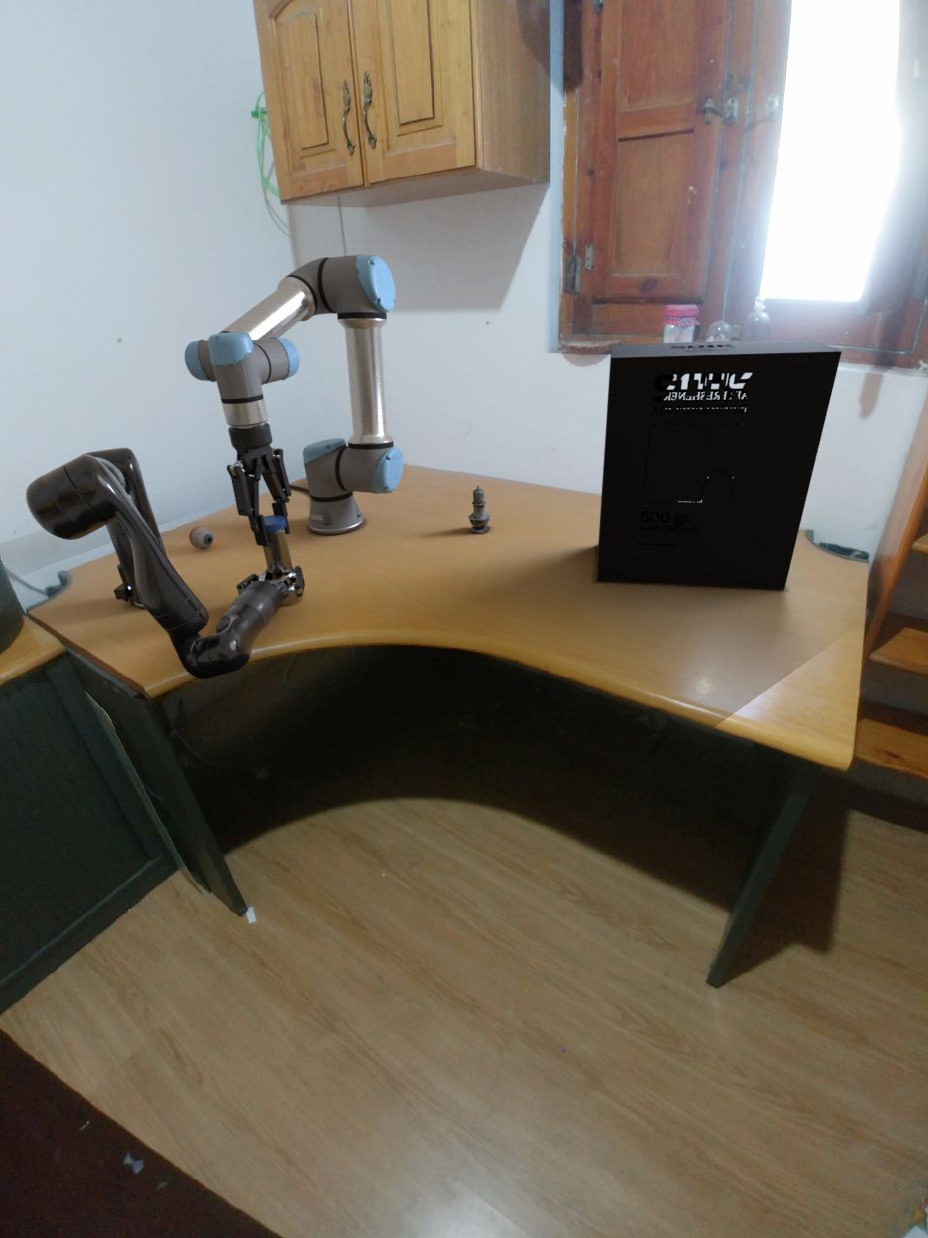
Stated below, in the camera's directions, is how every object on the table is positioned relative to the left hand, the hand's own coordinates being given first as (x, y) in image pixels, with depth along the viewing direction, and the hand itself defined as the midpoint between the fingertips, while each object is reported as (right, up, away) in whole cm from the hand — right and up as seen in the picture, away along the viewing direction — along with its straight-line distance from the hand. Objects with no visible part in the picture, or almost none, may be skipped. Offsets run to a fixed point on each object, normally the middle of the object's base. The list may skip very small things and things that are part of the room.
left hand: (286, 569), depth 131 cm
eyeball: (-30, +8, +29) cm, 42 cm away
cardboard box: (+88, +1, +5) cm, 88 cm away
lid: (-1, +9, -8) cm, 12 cm away
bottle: (0, -7, +1) cm, 7 cm away
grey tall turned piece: (+43, +13, +30) cm, 54 cm away
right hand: (-1, +6, -6) cm, 9 cm away
